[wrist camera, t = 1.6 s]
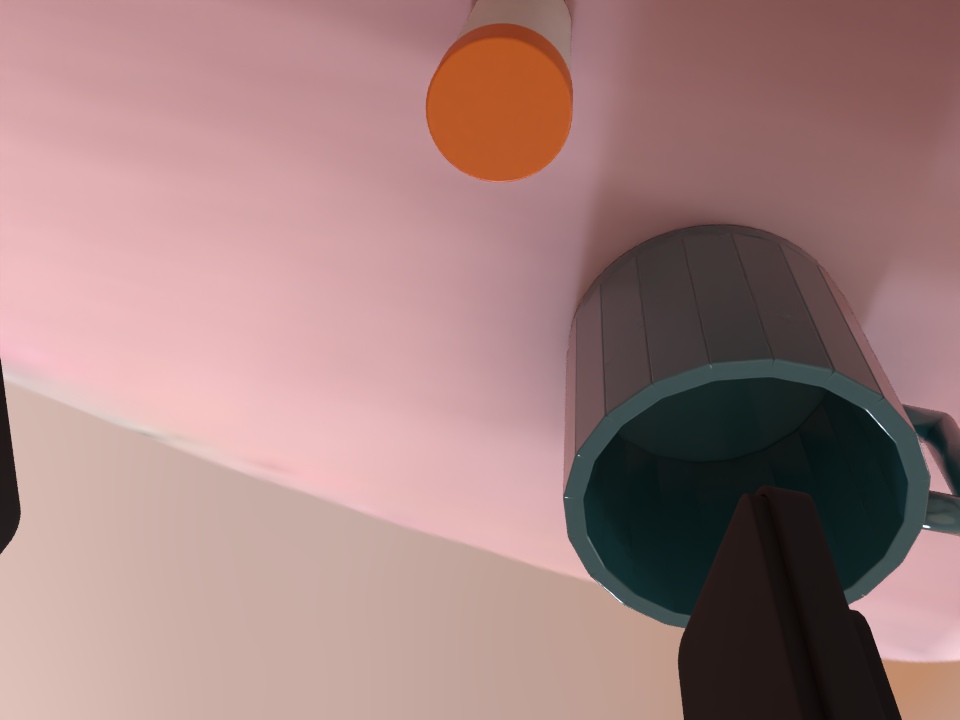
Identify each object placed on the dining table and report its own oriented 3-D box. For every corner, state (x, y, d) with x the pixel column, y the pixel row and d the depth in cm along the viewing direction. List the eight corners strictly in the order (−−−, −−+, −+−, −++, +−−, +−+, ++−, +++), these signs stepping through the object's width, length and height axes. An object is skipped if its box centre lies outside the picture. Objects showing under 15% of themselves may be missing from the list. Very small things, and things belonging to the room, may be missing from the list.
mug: (543, 433, 37) (533, 599, 29) (604, 198, 31) (612, 326, 24) (879, 499, 37) (957, 681, 29) (997, 276, 32) (1130, 428, 24)
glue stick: (476, -39, 28) (436, 22, 20) (585, -17, 28) (587, 53, 20) (458, 72, 30) (416, 168, 22) (561, 93, 30) (555, 195, 22)
